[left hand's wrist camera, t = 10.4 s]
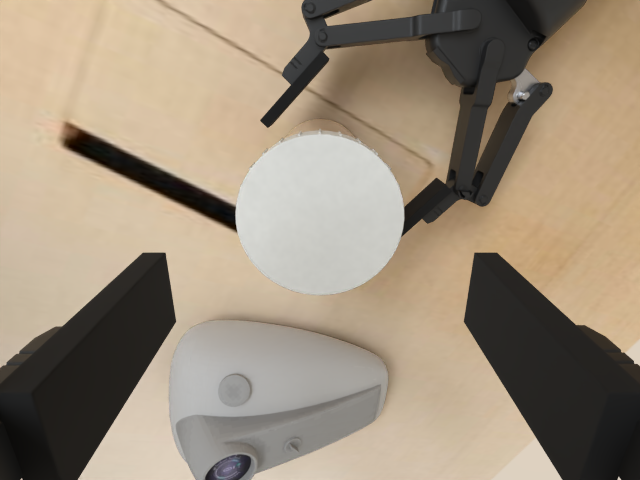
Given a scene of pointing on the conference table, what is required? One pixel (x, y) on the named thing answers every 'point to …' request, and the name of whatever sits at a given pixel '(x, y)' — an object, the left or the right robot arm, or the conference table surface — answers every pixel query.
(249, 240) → the lid
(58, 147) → the conference table surface
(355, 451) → the conference table surface
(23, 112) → the conference table surface
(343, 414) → the projector
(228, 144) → the conference table surface
